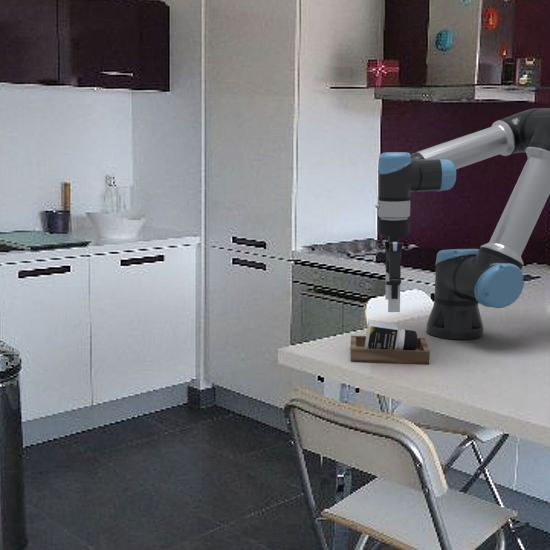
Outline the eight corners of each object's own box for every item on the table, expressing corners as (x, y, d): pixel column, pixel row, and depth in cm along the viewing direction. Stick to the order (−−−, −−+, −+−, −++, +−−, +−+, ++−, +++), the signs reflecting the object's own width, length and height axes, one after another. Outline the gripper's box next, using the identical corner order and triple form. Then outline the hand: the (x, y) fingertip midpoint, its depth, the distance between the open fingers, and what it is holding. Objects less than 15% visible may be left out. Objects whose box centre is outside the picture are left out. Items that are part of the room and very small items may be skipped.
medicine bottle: (369, 325, 200) (419, 333, 200) (368, 319, 208) (417, 325, 207) (364, 354, 202) (415, 361, 201) (364, 346, 209) (412, 353, 208)
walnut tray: (350, 347, 214) (351, 335, 213) (424, 349, 212) (424, 337, 212) (351, 361, 201) (351, 349, 200) (429, 364, 199) (429, 352, 199)
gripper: (376, 212, 213) (375, 294, 217) (379, 224, 189) (378, 317, 193) (406, 212, 213) (404, 294, 216) (413, 224, 188) (411, 317, 192)
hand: (392, 305), depth 205 cm, fingers open, 13 cm apart
